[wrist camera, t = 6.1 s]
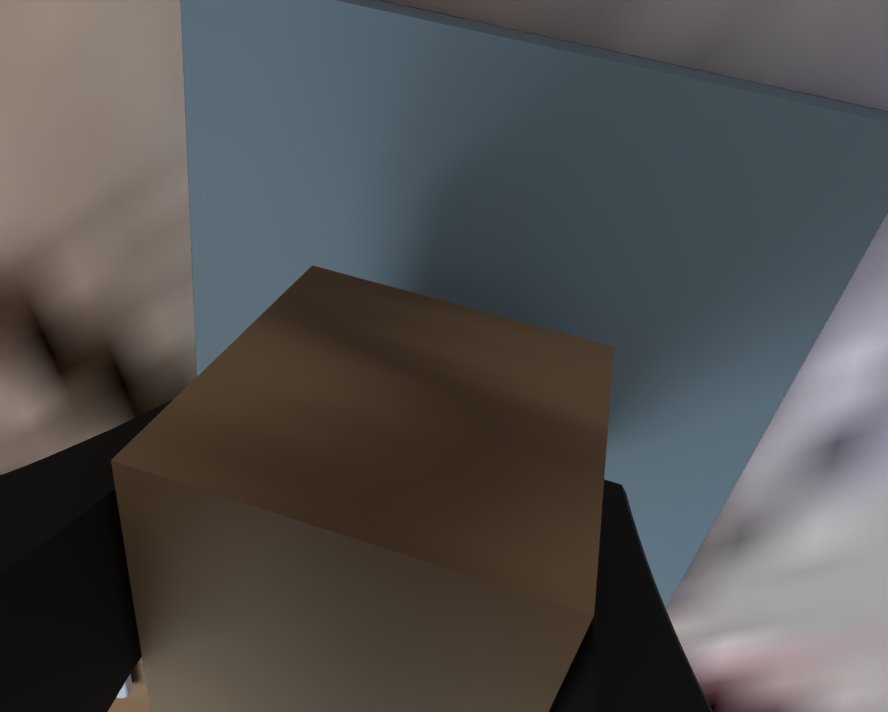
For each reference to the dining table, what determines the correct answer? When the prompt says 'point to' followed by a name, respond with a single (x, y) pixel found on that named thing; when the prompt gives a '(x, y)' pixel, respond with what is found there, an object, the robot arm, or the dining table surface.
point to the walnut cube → (369, 510)
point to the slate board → (537, 212)
